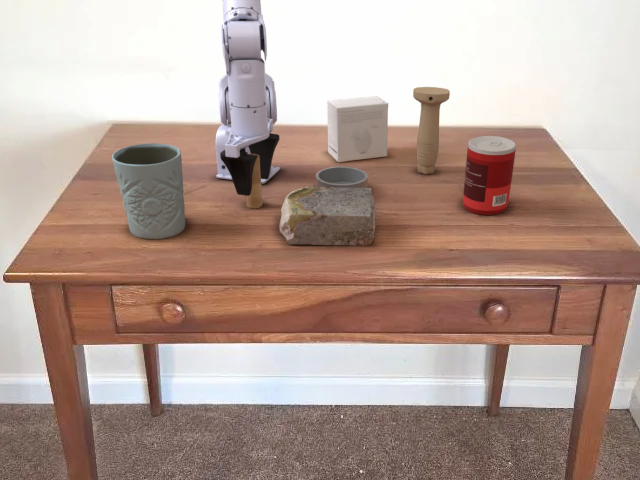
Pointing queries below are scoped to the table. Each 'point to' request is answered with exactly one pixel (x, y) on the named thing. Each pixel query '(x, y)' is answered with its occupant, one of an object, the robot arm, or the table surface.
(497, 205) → the canned food
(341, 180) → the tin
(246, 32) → the robot arm
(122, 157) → the drinking glass
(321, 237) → the geological specimen
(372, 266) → the table surface
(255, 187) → the stick
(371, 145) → the cosmetics box
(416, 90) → the handle
